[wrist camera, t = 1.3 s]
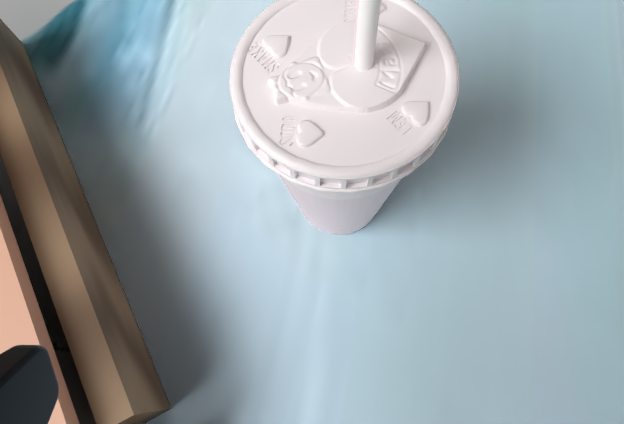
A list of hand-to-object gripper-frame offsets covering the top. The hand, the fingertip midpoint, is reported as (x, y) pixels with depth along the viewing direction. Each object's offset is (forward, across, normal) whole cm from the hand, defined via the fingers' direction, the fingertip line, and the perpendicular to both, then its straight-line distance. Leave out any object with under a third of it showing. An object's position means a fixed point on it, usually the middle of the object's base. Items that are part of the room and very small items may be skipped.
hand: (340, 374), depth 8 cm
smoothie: (+15, 0, +4) cm, 16 cm away
